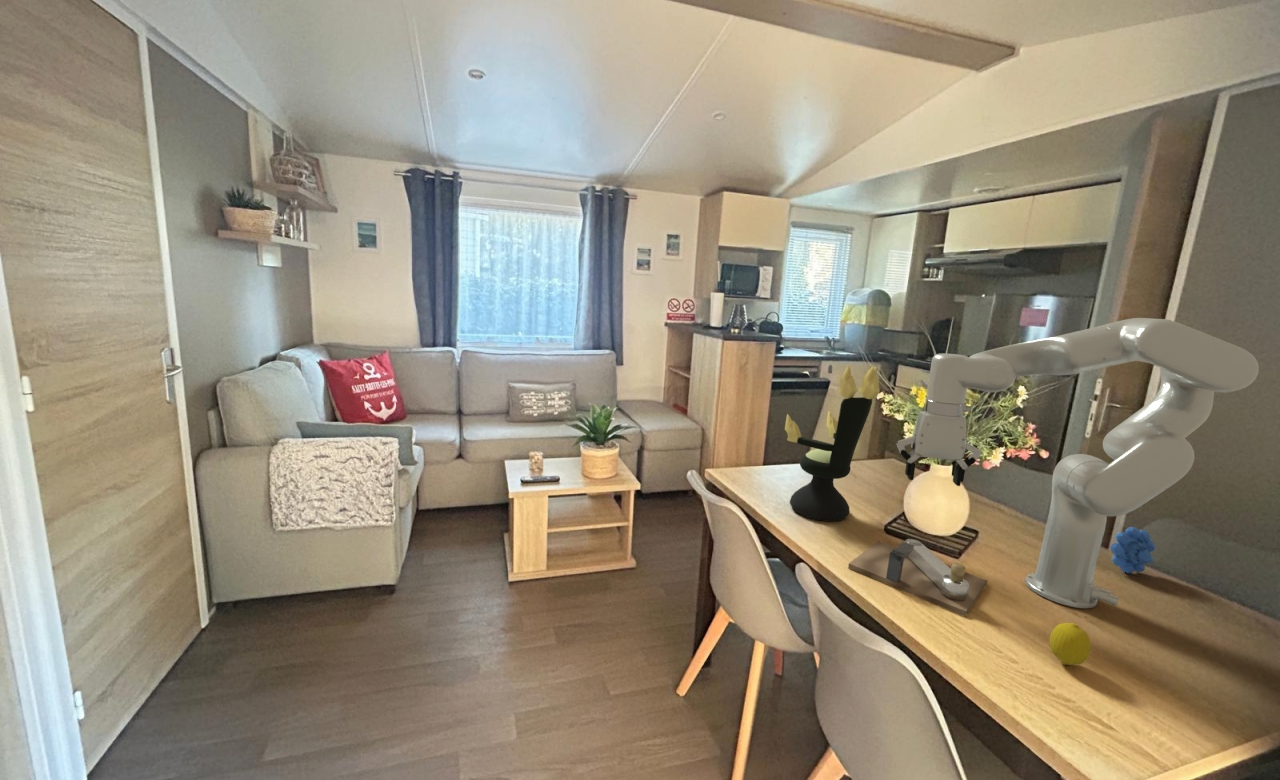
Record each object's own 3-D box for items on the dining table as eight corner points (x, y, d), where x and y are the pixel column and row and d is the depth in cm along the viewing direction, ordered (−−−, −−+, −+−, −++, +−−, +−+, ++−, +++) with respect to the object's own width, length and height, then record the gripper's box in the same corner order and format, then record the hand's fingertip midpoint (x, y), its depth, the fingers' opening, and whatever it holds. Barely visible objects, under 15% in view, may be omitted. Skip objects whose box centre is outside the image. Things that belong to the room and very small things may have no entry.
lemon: (1092, 678, 89) (1103, 636, 87) (1056, 671, 90) (1066, 630, 88) (1073, 656, 94) (1082, 617, 93) (1038, 651, 95) (1047, 611, 94)
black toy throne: (817, 495, 166) (836, 354, 157) (879, 523, 147) (904, 366, 138) (774, 504, 156) (791, 355, 148) (834, 535, 137) (857, 367, 129)
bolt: (971, 601, 107) (974, 587, 107) (948, 599, 107) (951, 586, 107) (917, 550, 128) (919, 539, 128) (898, 549, 128) (900, 538, 128)
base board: (986, 585, 117) (993, 552, 116) (965, 616, 104) (972, 580, 103) (877, 544, 134) (882, 515, 132) (848, 568, 121) (852, 536, 119)
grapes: (1124, 583, 122) (1137, 535, 120) (1096, 568, 128) (1107, 522, 126) (1166, 582, 124) (1179, 535, 121) (1136, 567, 130) (1147, 522, 128)
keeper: (909, 570, 119) (914, 545, 118) (897, 583, 113) (901, 556, 112) (898, 566, 121) (902, 541, 120) (885, 578, 115) (890, 552, 114)
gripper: (981, 409, 118) (969, 481, 121) (898, 402, 123) (889, 471, 126) (993, 416, 111) (981, 492, 114) (905, 408, 116) (895, 481, 119)
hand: (932, 481), depth 120 cm, fingers open, 9 cm apart
